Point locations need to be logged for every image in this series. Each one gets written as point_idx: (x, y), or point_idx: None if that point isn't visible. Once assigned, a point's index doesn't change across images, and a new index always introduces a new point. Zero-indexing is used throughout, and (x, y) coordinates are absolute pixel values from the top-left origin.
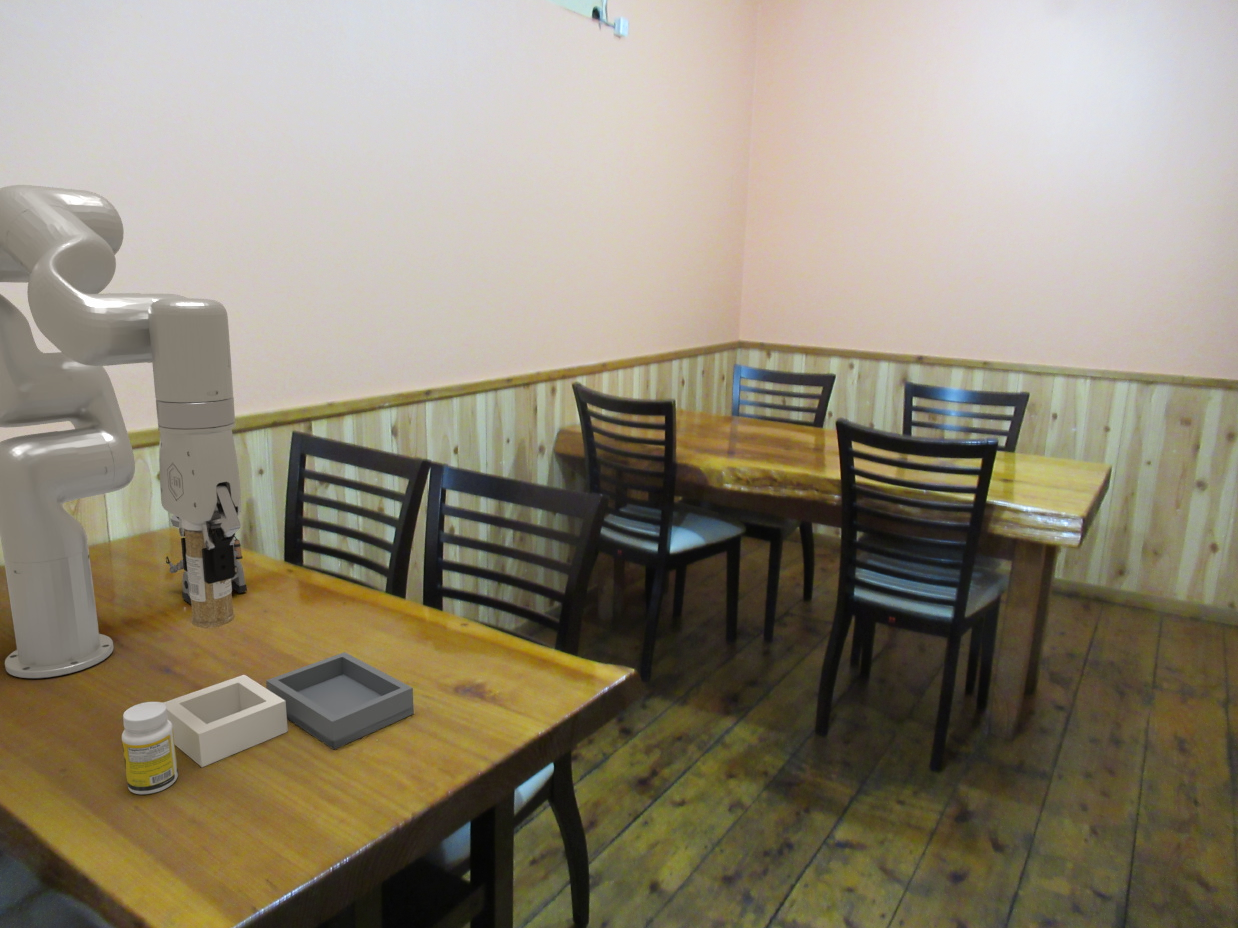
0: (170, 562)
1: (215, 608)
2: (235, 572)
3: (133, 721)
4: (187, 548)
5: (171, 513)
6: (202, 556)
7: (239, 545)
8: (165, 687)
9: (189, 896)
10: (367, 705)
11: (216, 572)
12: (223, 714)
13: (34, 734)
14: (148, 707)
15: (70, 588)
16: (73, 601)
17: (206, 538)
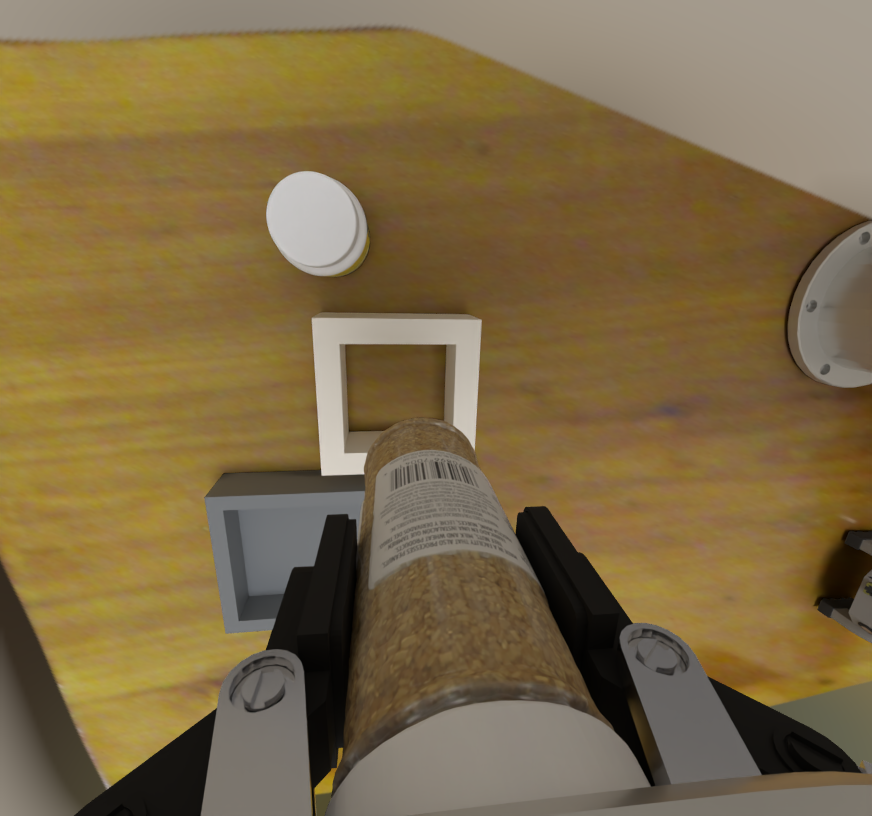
0: None
1: (366, 484)
2: (861, 625)
3: (282, 180)
4: (470, 582)
5: (738, 786)
6: (333, 595)
7: None
8: (618, 383)
9: None
10: (219, 559)
11: (293, 573)
12: (445, 405)
13: (640, 164)
14: (321, 232)
15: None
16: None
17: (256, 728)
